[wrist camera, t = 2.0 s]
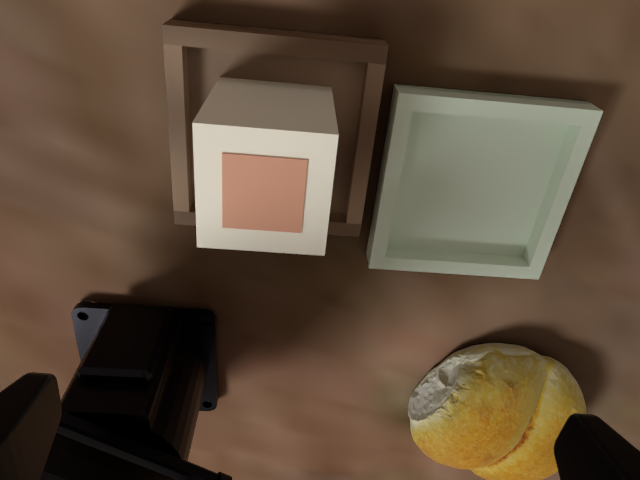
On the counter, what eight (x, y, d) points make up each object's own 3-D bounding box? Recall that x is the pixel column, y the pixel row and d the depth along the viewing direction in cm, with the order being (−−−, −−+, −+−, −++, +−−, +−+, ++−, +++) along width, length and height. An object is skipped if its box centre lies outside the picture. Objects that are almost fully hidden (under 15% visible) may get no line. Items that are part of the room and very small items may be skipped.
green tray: (528, 263, 23) (538, 279, 22) (365, 252, 23) (368, 268, 22) (587, 101, 19) (603, 111, 18) (393, 84, 19) (398, 92, 18)
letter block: (322, 187, 20) (326, 256, 16) (220, 179, 20) (196, 248, 16) (332, 86, 18) (340, 135, 14) (219, 76, 18) (191, 123, 14)
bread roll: (503, 461, 31) (528, 528, 28) (382, 411, 28) (393, 478, 25) (608, 377, 27) (651, 442, 24) (480, 311, 25) (508, 373, 21)
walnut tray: (357, 222, 22) (359, 237, 21) (180, 209, 21) (174, 224, 20) (384, 39, 18) (388, 46, 17) (170, 19, 18) (161, 24, 16)
